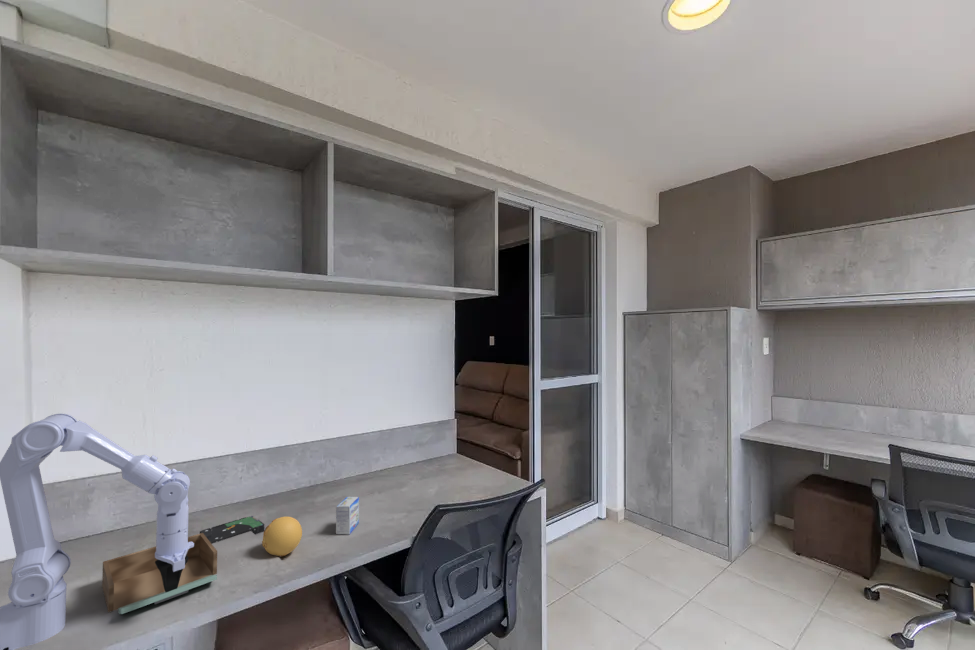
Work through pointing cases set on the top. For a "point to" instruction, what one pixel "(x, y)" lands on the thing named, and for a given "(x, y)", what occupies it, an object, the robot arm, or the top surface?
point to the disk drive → (233, 529)
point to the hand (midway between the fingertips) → (171, 590)
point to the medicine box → (347, 515)
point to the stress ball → (282, 536)
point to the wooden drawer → (152, 573)
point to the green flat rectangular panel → (166, 594)
